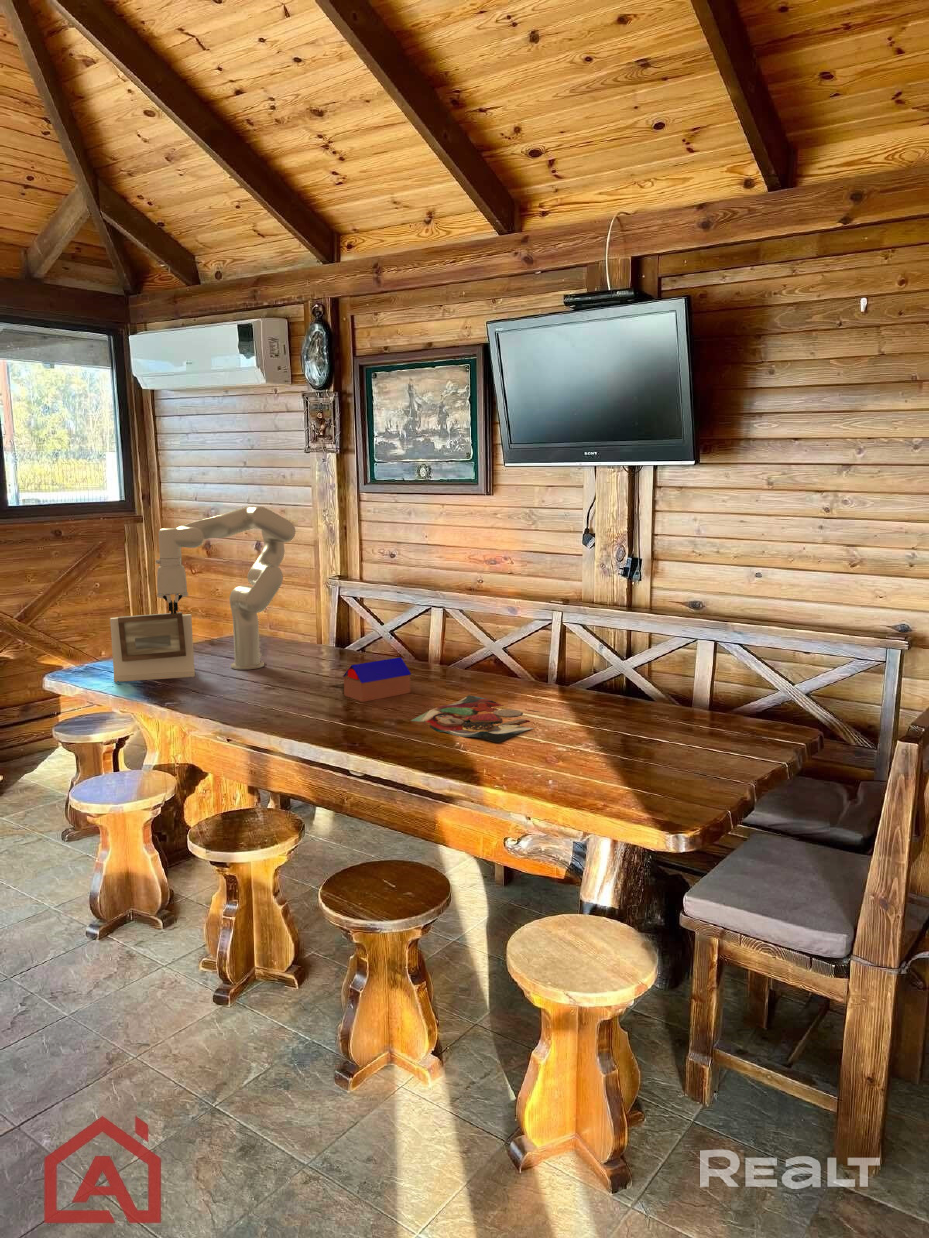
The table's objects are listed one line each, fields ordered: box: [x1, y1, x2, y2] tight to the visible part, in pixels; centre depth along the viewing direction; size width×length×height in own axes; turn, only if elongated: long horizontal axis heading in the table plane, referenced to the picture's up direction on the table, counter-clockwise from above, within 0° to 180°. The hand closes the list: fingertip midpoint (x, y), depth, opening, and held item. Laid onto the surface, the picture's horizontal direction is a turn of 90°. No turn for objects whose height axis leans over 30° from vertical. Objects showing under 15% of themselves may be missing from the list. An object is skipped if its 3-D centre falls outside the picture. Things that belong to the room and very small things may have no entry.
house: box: [342, 657, 412, 703], centre depth 310 cm, size 12×20×12 cm, turn 129°
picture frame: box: [117, 611, 186, 662], centre depth 331 cm, size 2×22×16 cm, turn 106°
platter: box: [410, 694, 539, 744], centre depth 278 cm, size 36×36×2 cm
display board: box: [109, 613, 196, 683], centre depth 336 cm, size 8×28×23 cm, turn 106°
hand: (173, 612), depth 332 cm, fingers closed
